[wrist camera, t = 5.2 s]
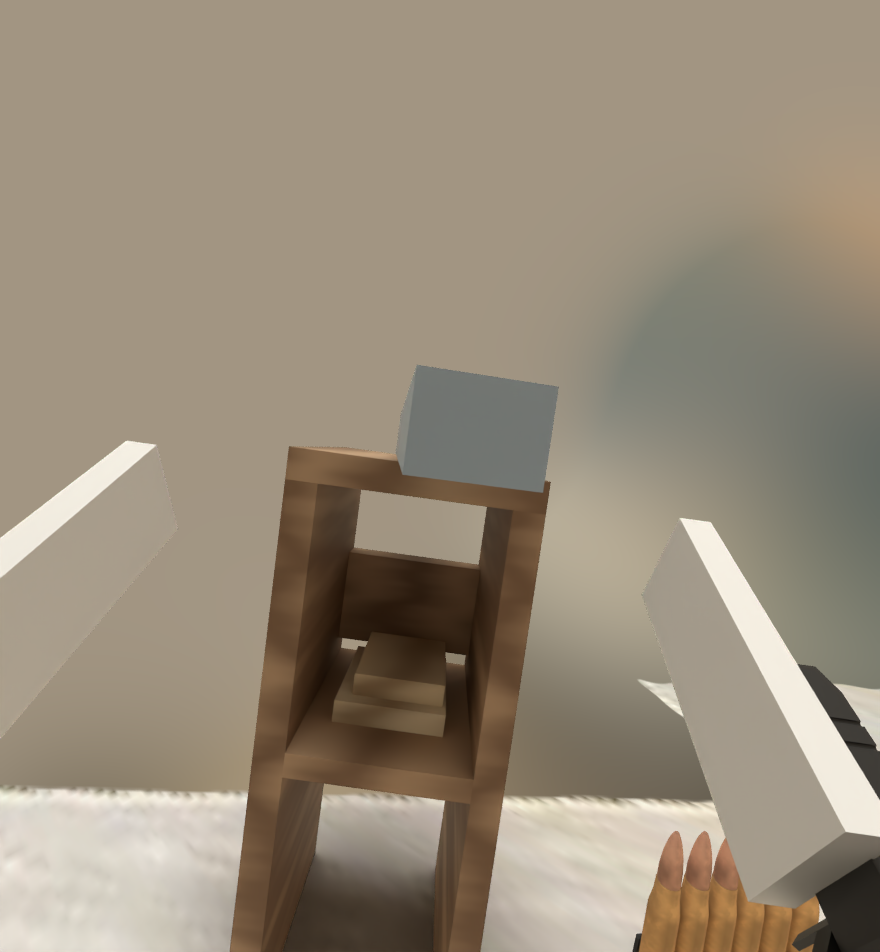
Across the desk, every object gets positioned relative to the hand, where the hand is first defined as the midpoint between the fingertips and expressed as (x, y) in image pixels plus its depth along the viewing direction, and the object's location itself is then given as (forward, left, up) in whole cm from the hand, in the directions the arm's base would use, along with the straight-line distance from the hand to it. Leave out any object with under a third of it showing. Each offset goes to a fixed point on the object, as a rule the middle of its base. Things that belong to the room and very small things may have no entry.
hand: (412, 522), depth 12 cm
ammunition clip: (+24, +2, -29) cm, 38 cm away
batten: (+7, +11, +1) cm, 13 cm away
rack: (+7, +14, -29) cm, 33 cm away
